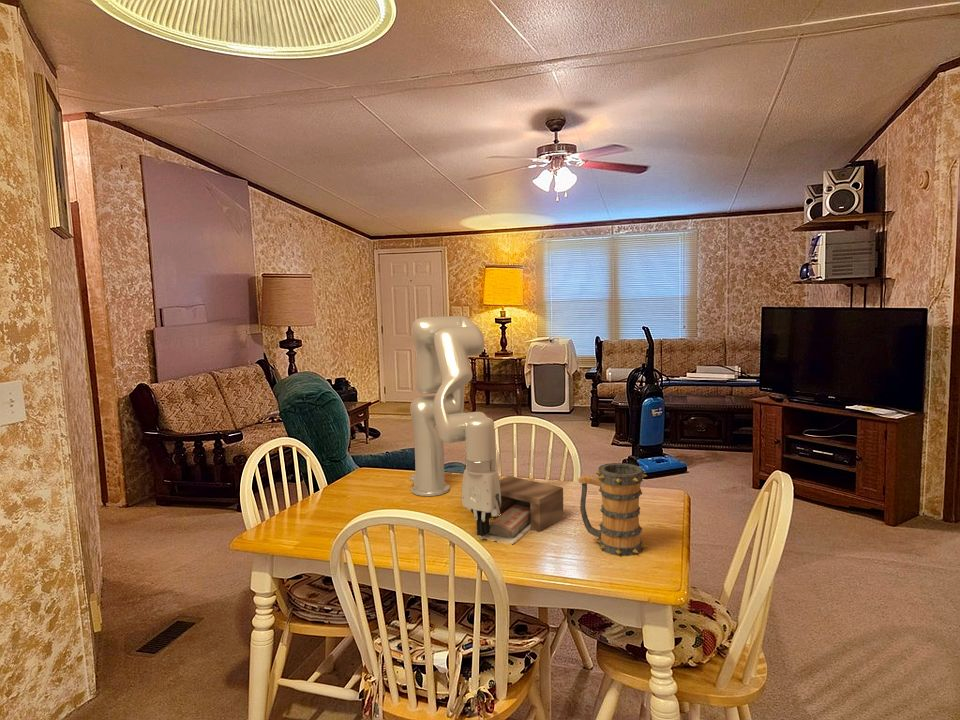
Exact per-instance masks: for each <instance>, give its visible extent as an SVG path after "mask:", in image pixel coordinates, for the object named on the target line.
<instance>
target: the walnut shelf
mask: <svg viewBox="0 0 960 720" xmlns="http://www.w3.org/2000/svg"><path fill="white" fill-rule="evenodd" d="M499 482H500V489H501V507H500V508H499V510H500V514H503V513H504V512H505V511H506V510H508V509H509V508H510V507H512V506H513V505H520V506H526V507H530V516H531V529H532V530H531V531H535V530H536V531H535V532H540V531H541V532H542V531H544V530H545V529H548V528H549V527H551V526H553V525H554V523H555V524H556V523H558V522H559V520H560V521H561V520H563V519H564V487H563V486H558V485H552V484H549V483H548V484H547V483H543V482H540V481H539V482H538V481H535V480H529V479H523V478H519V477H515V476H511V475H507V476H506V477H503V478H501V479H499ZM494 517H496V516H492V517H491V518H494ZM496 518H497V517H496ZM562 518H563V519H562ZM494 519H495V518H494ZM547 527H548V528H547Z"/></svg>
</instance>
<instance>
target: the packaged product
mask: <svg viewBox="0 0 960 720" xmlns="http://www.w3.org/2000/svg"><path fill="white" fill-rule="evenodd" d="M530 529H531V516H530V507H526V506H520V505H513V506H512V507H510V508H509V509H508V510H506V511H505V512H504V513H503V514H501V515H500V516H498V517H496V518H494V519H493V520H492V521H489V533H488V534H486V535H484V536H480V535H478V536H479V537H478V538H479V539H480V538H482V539H481V540H483V539H489V540H494V541H499V542H505V543H510V544H514V543H515V542H516V541H517V542H518V541H519V540H521V539H522V538H523V537H524V536H525V535H527V533H529V532H530V531H531V530H530ZM529 530H530V531H529ZM528 531H529V532H528ZM524 534H525V535H524ZM523 535H524V536H523ZM522 536H523V537H522ZM517 542H516V543H517ZM516 543H515V544H516ZM515 544H514V545H515Z"/></svg>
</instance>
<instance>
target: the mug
mask: <svg viewBox="0 0 960 720" xmlns="http://www.w3.org/2000/svg"><path fill="white" fill-rule="evenodd" d="M643 471H644V470H643V469H642V467H640V466H638V465H635V464H631V463H624V462H612V463H605V464H601V465H599V467H598V470H597V471H594V472H593V473H594V474H595V475H597V476H598V477H596V476H594V475H593V476H591V475H587V474H585V475H583V474H582V475H581V476H580V477H578V478H576V480H577V482H578V483H579V484H581V496H580V503H579V504H580V507H579V508H580V509H579V511H580V514H581V519H582V522H583V524H584V525H583V526H584V527H585V529H586V531H587V532H588V533H589V534H590V535H592V536H594V537H596V538H597V539H596V540H594V541H595V542H596V543H598V549H600V550H602V551H603V552H605V553H607V554H609V555H613V556H617V557H622V556H623V557H629V556H635V555H637V554H640V553H641V552H642V550H643V548H646V547H647V545H646V544H644V543H643V540H642V538H641V533H642V531H643V528H642V527H641V526H640V525H641V524H640V520H639V519H640V517H639V516H640V514H641V513H640V511H641V507H640V506H639V503H640V501H639V500H640V497H641V496H642V495H643V492H642V490H641V483H642V482H643V479H644V478H645V477H648V475H647V474H645V473H644V472H643ZM588 485H593V486H597V487H599V489H598V491H599V492H600V494H601V497H602V498H601V499H602V504H601V505H600V507H601V509H600V512H601V513H602V517H601V518H602V520H601V522H600V523H599V529H598V528H595V527H593V526H592V525H591V523H590V520H589V518H588V514H587V509H586V505H587V504H586V503H587V502H586V501H587V493H588V492H587V491H588Z"/></svg>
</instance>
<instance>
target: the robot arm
mask: <svg viewBox="0 0 960 720" xmlns="http://www.w3.org/2000/svg"><path fill="white" fill-rule="evenodd" d="M411 336H412V341H413V343H414V347H415V351H416V353H415V355H416V362H415V363H416V365H415V387H416V389H417V391H418V392H419V393H421V394H424V395H422V396H418V397H415V398H414V399H413V400H412V401H411V403H410V406H409V411H410V417H411V423H412V428H413V440H414V461H415V463H414V465H415V466H414V467H415V468H414V469H415V470H414V471H415V473H412V475H411V476H410V477H409V478H408V479H409V480H408V481H410V482H413V486H411V493H412V494H414V495H417V496H422V497H434V496H435V497H436V496H440V495H444V494H446V493H448V492H449V491H450V487H451V486H450V484H448V483H447V482H446V481H445V478H446V477H445V476H446V475H445V456H444V454H445V451H444V445H445V444H444V443H448V444H451V443H460V442H461V443H462V442H465V454H466V455H465V458H464V459H463V461H464V464H466V465H465V466H466V468H465V469H464V470H463V475H462V482H461V503H462V506H463V507H465V509H467V510H468V511H470V512H471V513H472V514H473V519H474V520H475V521H476V535H477V536H479V535H480V536H484V535H486V534H488V533H489V523H490V520H491V517H492V516H498V515H500V510H499V508H500V507H501V489H500V482H499V480H500V477H499V473H498V471H497V469H496V466H497V465H496V439H495V437H496V434H495V433H496V432H495V422H494V420H493V418H491V417H488V416H487V415H486V413H484V412H482V411H471V412H469V411H468V412H464V408H465V407H464V405H465V392H466V390H465V389H466V385H468V383H470V382H471V381H472V379H473V371H472V368H471V365H470V360H469V356H478V355H480V354H482V353H483V352H484V349H485V337H484V335H483V333H482V331H481V328H480V327H478V326H477V324H475V323H474V322H473V321H472V320H471V319H469V317H466V316H463V315H453V316H452V315H450V316H449V315H447V316H442V315H441V316H425V317H420V318H417V319H415V320H414V321H413V322H412V325H411ZM426 394H427V395H426ZM430 394H431V395H430ZM498 517H499V516H498Z"/></svg>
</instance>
